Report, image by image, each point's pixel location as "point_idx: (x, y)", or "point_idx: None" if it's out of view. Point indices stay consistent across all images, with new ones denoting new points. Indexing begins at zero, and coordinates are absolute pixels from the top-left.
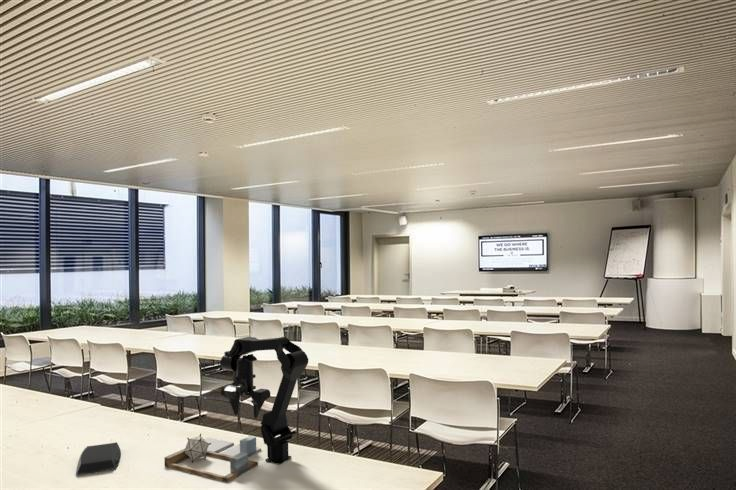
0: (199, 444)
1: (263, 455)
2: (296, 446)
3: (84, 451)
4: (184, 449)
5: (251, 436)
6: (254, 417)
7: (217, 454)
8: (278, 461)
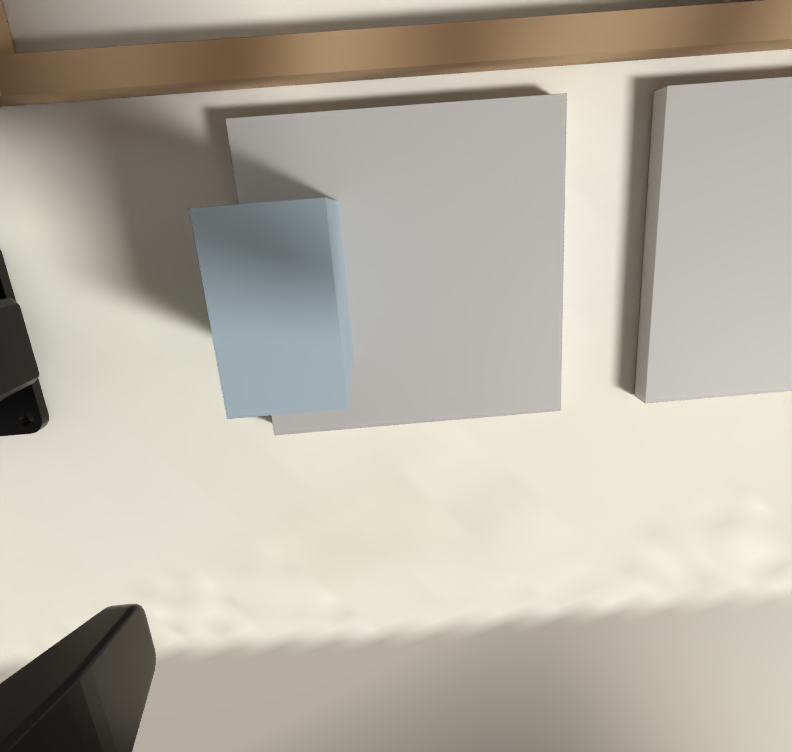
0: None
1: (155, 349)
2: None
3: None
4: None
5: (308, 407)
6: (118, 616)
7: (547, 17)
8: None
